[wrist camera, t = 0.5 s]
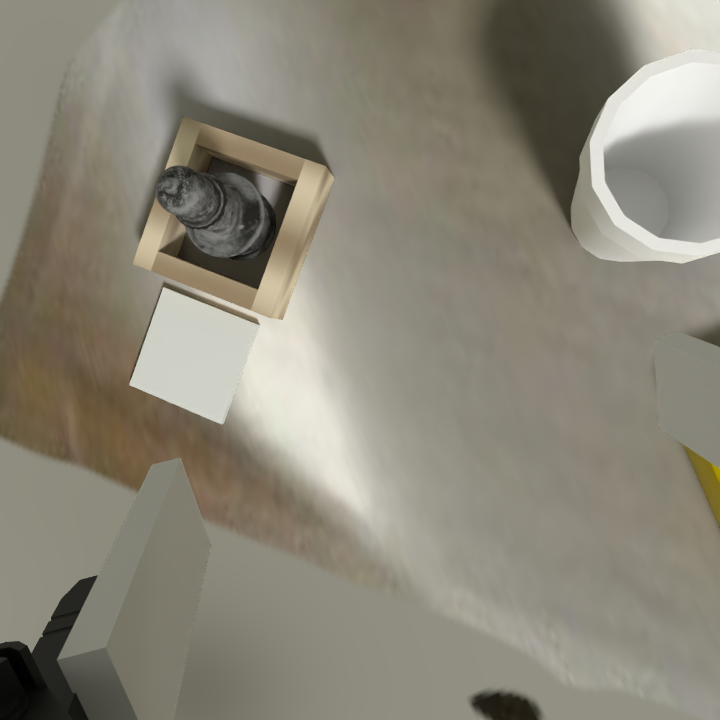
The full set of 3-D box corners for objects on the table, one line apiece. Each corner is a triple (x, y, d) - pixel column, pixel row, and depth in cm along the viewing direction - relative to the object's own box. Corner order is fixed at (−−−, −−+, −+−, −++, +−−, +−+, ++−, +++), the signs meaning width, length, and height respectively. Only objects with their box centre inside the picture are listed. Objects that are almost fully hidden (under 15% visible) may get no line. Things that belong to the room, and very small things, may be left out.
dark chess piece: (191, 211, 45) (96, 164, 33) (256, 170, 44) (182, 106, 32) (227, 278, 44) (145, 255, 33) (293, 238, 44) (233, 199, 32)
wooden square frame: (201, 131, 44) (183, 116, 41) (334, 178, 43) (325, 166, 40) (153, 268, 45) (132, 263, 42) (282, 319, 44) (270, 317, 41)
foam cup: (544, 152, 40) (585, 62, 28) (688, 136, 39) (802, 34, 26) (551, 289, 41) (596, 264, 28) (695, 279, 39) (813, 247, 26)
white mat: (166, 287, 45) (163, 287, 45) (259, 325, 44) (257, 324, 44) (132, 384, 46) (129, 384, 45) (223, 423, 45) (221, 424, 44)
